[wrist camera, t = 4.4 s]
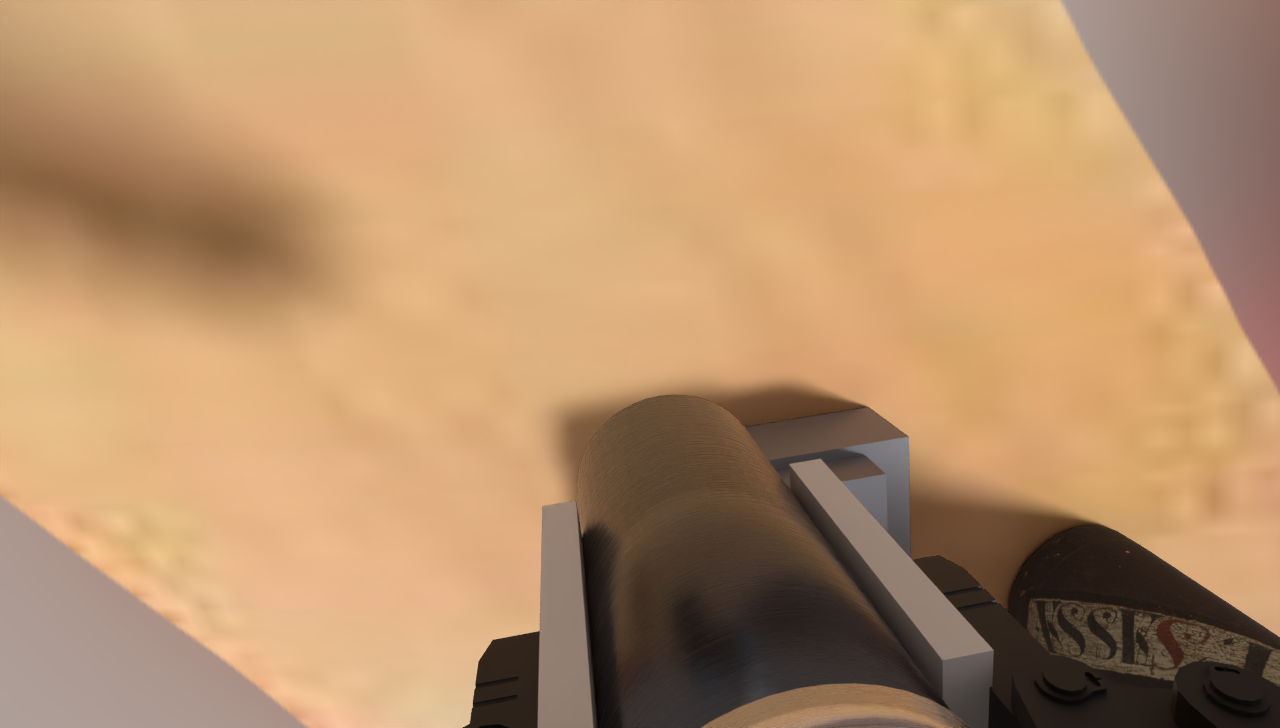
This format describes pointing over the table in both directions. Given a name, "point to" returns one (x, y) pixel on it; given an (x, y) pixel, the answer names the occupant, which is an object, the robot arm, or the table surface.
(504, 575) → the table surface
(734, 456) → the lens
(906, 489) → the camera body
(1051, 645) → the container
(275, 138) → the table surface
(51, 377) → the table surface
